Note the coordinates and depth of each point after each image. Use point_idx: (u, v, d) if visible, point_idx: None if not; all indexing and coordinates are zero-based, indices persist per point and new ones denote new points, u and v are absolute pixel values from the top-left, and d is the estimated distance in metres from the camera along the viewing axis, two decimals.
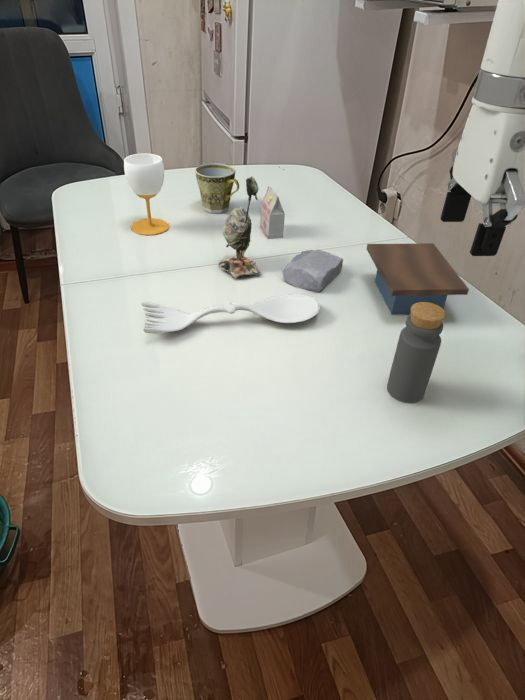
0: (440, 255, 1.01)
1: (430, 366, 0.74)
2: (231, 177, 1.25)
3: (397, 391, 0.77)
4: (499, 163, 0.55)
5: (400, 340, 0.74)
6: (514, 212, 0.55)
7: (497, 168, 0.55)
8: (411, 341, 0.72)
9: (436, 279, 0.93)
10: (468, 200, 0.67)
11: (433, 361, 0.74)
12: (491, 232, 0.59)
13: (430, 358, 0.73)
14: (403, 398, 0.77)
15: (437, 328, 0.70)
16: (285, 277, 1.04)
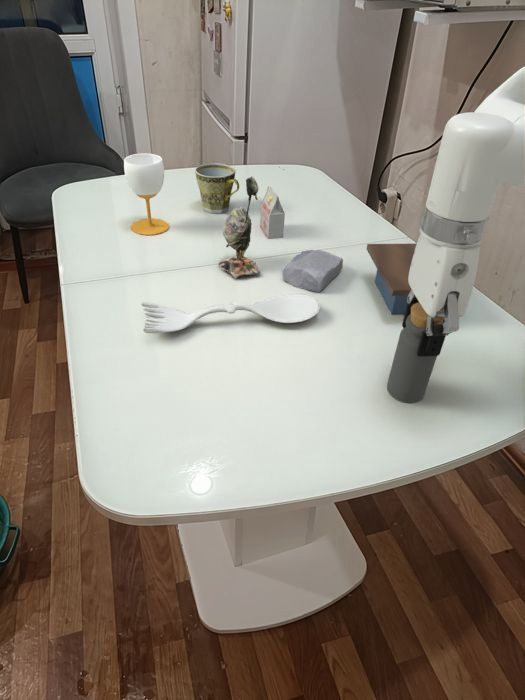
0: None
1: (430, 367, 0.74)
2: (231, 177, 1.25)
3: (397, 391, 0.77)
4: (442, 287, 0.63)
5: (400, 340, 0.74)
6: (448, 332, 0.65)
7: (441, 291, 0.63)
8: (411, 342, 0.72)
9: None
10: None
11: (433, 361, 0.74)
12: (432, 339, 0.68)
13: (430, 358, 0.73)
14: (403, 398, 0.77)
15: None
16: (285, 277, 1.04)
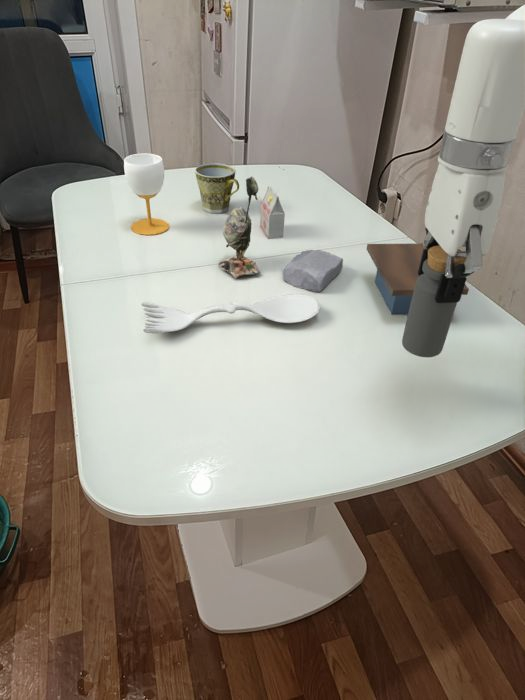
0: None
1: (449, 316, 0.69)
2: (231, 177, 1.25)
3: (413, 344, 0.72)
4: (464, 220, 0.57)
5: (416, 288, 0.68)
6: (470, 271, 0.59)
7: (462, 224, 0.58)
8: (428, 288, 0.67)
9: None
10: None
11: (452, 310, 0.68)
12: (452, 282, 0.63)
13: (449, 306, 0.67)
14: (419, 352, 0.72)
15: None
16: (285, 277, 1.04)
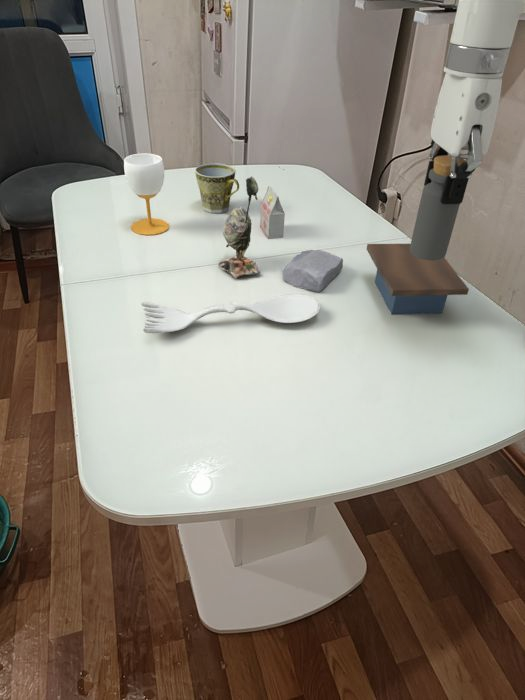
0: None
1: (452, 219, 0.78)
2: (231, 177, 1.25)
3: (420, 249, 0.81)
4: (467, 120, 0.67)
5: (423, 194, 0.78)
6: (472, 167, 0.69)
7: (465, 124, 0.67)
8: (434, 192, 0.76)
9: (436, 279, 0.93)
10: None
11: (455, 213, 0.78)
12: (456, 182, 0.73)
13: (453, 208, 0.77)
14: (425, 256, 0.82)
15: None
16: (285, 277, 1.04)
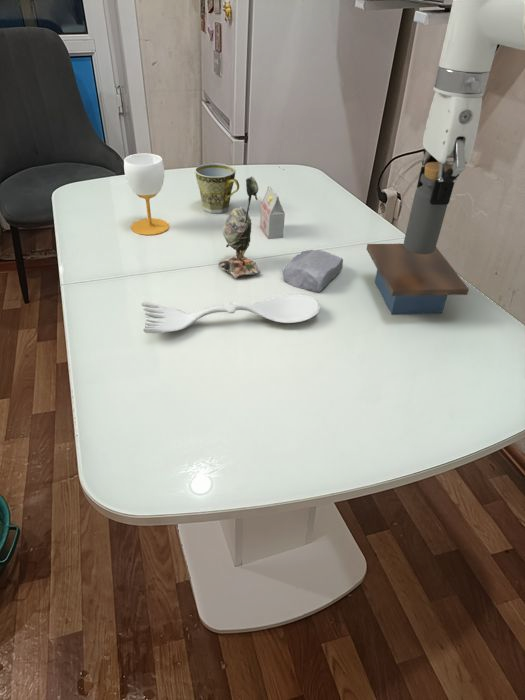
0: (440, 255, 1.01)
1: (440, 218, 0.89)
2: (231, 177, 1.25)
3: (412, 243, 0.93)
4: (452, 132, 0.78)
5: (415, 195, 0.89)
6: (456, 173, 0.80)
7: (451, 136, 0.78)
8: (425, 194, 0.87)
9: (436, 279, 0.93)
10: None
11: (443, 213, 0.89)
12: (443, 186, 0.84)
13: (441, 208, 0.88)
14: (417, 250, 0.93)
15: None
16: (285, 277, 1.04)
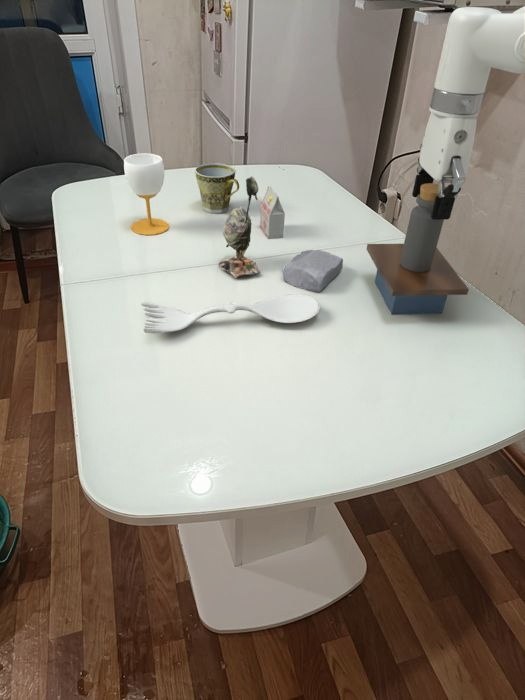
0: (440, 255, 1.01)
1: (436, 237, 0.91)
2: (231, 177, 1.25)
3: (408, 262, 0.95)
4: (447, 152, 0.80)
5: (411, 215, 0.91)
6: (458, 186, 0.80)
7: (446, 155, 0.80)
8: (420, 214, 0.89)
9: (436, 279, 0.93)
10: (431, 181, 0.92)
11: (438, 232, 0.91)
12: (444, 201, 0.84)
13: (436, 228, 0.90)
14: (413, 268, 0.95)
15: None
16: (285, 277, 1.04)
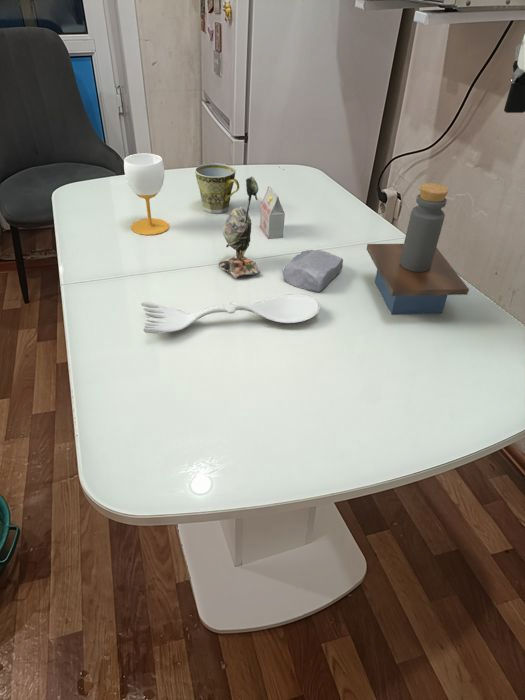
0: (440, 255, 1.01)
1: (436, 237, 0.91)
2: (231, 177, 1.25)
3: (408, 262, 0.95)
4: None
5: (411, 215, 0.91)
6: None
7: None
8: (420, 214, 0.89)
9: (436, 279, 0.93)
10: None
11: (438, 232, 0.91)
12: None
13: (436, 228, 0.90)
14: (413, 268, 0.95)
15: (441, 201, 0.88)
16: (285, 277, 1.04)
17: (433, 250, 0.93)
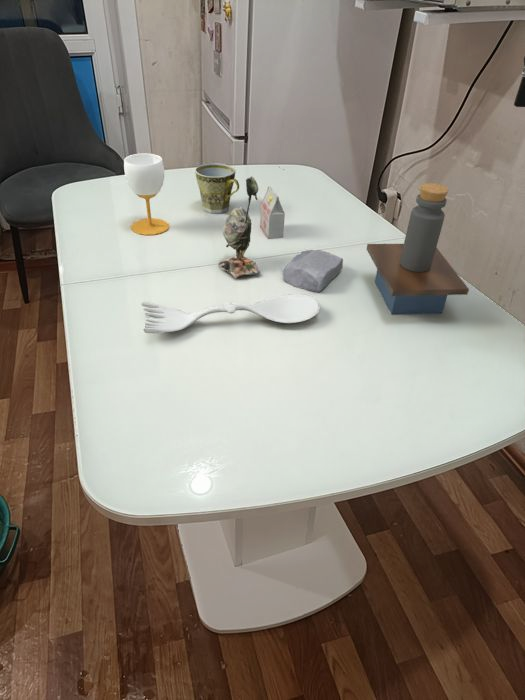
0: (440, 255, 1.01)
1: (436, 237, 0.91)
2: (231, 177, 1.25)
3: (408, 262, 0.95)
4: None
5: (411, 215, 0.91)
6: None
7: None
8: (420, 214, 0.89)
9: (436, 279, 0.93)
10: None
11: (438, 232, 0.91)
12: None
13: (436, 228, 0.90)
14: (413, 268, 0.95)
15: (441, 201, 0.88)
16: (285, 277, 1.04)
17: (433, 250, 0.93)
